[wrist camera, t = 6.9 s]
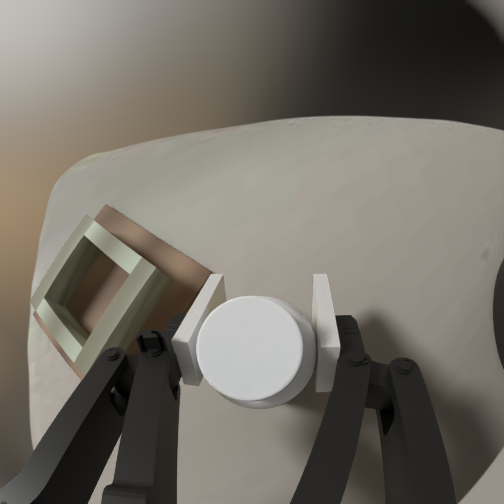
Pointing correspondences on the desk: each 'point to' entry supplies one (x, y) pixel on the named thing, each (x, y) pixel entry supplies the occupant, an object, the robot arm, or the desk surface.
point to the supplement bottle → (256, 351)
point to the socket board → (112, 289)
